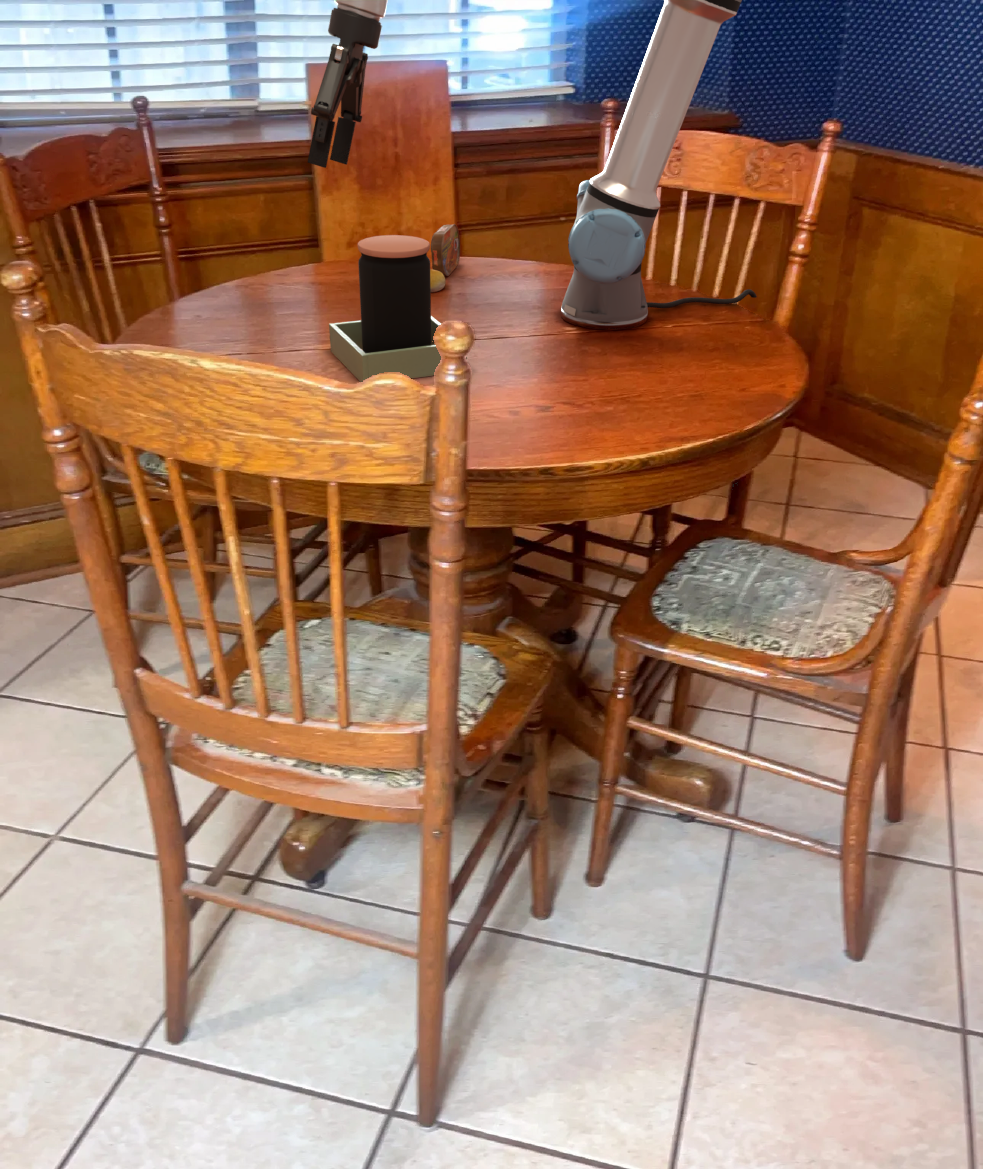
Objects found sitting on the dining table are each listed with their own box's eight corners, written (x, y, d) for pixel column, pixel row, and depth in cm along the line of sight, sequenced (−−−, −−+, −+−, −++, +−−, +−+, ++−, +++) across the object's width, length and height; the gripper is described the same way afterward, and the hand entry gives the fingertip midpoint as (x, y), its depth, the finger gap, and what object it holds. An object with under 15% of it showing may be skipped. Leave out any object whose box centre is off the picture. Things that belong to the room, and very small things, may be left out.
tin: (444, 280, 203) (443, 236, 199) (428, 279, 204) (428, 235, 200) (461, 262, 216) (461, 220, 212) (446, 261, 217) (446, 219, 212)
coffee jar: (444, 358, 164) (444, 241, 154) (404, 377, 156) (401, 255, 147) (390, 345, 169) (386, 231, 159) (349, 363, 161) (342, 244, 152)
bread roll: (426, 296, 194) (426, 274, 192) (391, 287, 199) (391, 266, 197) (455, 287, 199) (455, 266, 197) (420, 279, 204) (420, 258, 202)
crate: (427, 339, 172) (427, 312, 169) (466, 371, 159) (467, 342, 156) (330, 351, 166) (328, 323, 163) (363, 385, 153) (362, 355, 150)
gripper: (352, 13, 163) (324, 154, 172) (311, -4, 140) (281, 158, 149) (398, 28, 163) (368, 167, 172) (364, 12, 140) (331, 174, 149)
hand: (327, 163), depth 161 cm, fingers open, 13 cm apart
